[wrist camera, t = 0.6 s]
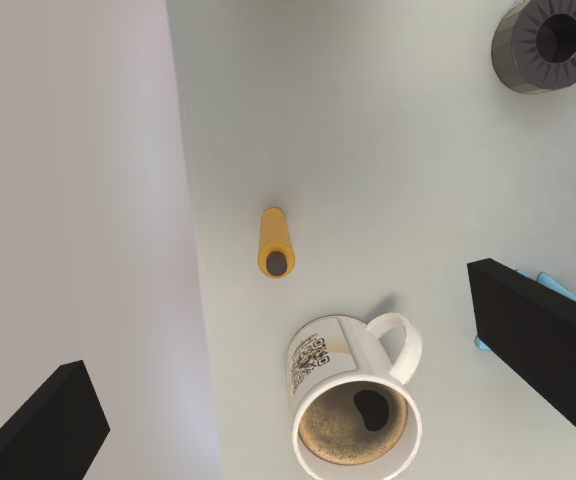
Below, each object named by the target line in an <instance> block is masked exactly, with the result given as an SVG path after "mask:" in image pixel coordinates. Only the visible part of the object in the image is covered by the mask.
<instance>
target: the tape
mask: <svg viewBox="0 0 576 480" xmlns="http://www.w3.org/2000/svg"><path fill="white" fill-rule="evenodd" d="M492 61H493V66H494V69H495V71H496V73H497V75H498V77H499V78H500V80H501V81H502V82H503V83H504V84H505V85H506V86H507V87H509V88H510V89H512V90H514V91H516V92H519V93H524V94H537V93H543V92H548V91H553V90H558V89H562V88H566V87H569V86H571V85H573V84H574V83H576V0H526V1H524V2H522V3H521V4H519V5H518V6H516V7H514V8H513V9H512V10H511V11H510V12H509V13H508V14H507V15H506V16H505V17H504V18H503V20H502V21H501V22H500V24H499V26H498V28H497V30H496V32H495V35H494V39H493V43H492Z"/></svg>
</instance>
